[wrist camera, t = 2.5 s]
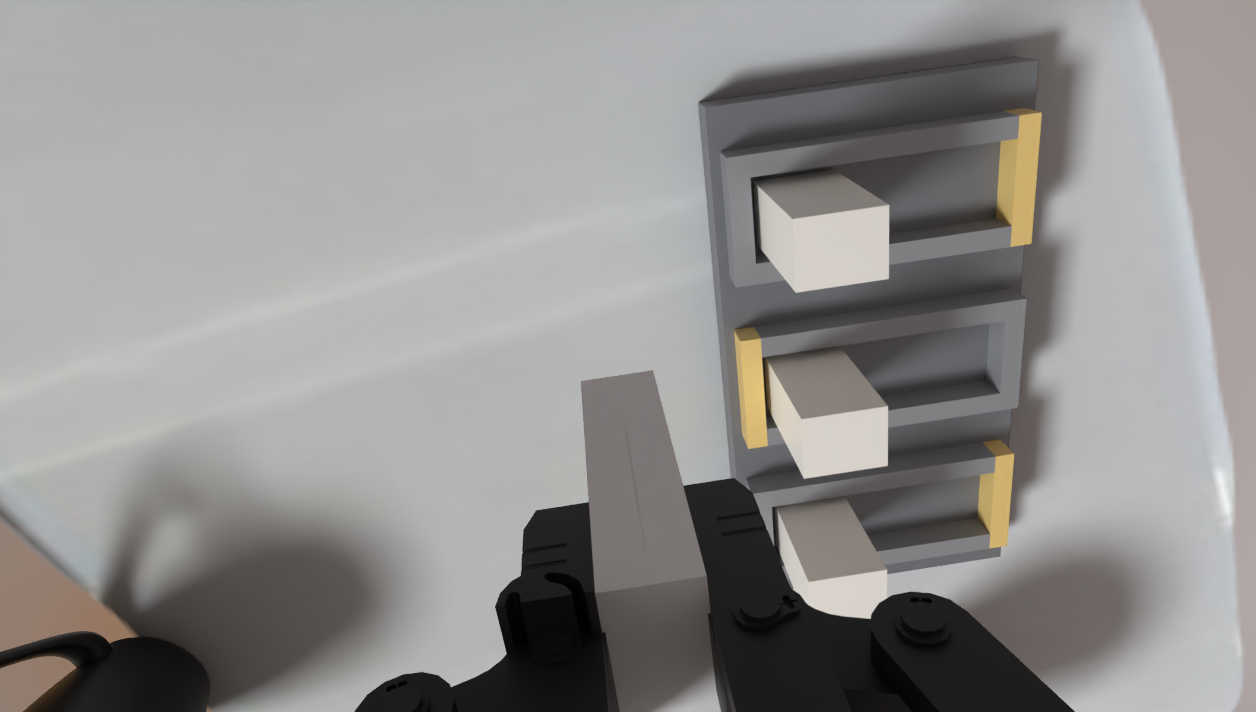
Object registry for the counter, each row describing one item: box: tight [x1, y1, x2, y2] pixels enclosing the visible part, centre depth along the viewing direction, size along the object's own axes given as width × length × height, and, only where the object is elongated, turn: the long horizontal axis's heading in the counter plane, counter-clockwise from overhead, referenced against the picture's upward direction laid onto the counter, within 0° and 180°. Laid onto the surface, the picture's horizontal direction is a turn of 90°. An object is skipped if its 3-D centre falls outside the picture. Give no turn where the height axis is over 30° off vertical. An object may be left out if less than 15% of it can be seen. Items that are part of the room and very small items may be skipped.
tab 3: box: [773, 496, 887, 619], centre depth 34 cm, size 2×3×6 cm
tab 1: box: [753, 169, 889, 293], centre depth 28 cm, size 2×3×6 cm
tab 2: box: [764, 346, 888, 479], centre depth 31 cm, size 2×3×6 cm
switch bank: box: [698, 57, 1042, 589], centre depth 34 cm, size 22×12×3 cm, turn 7°
